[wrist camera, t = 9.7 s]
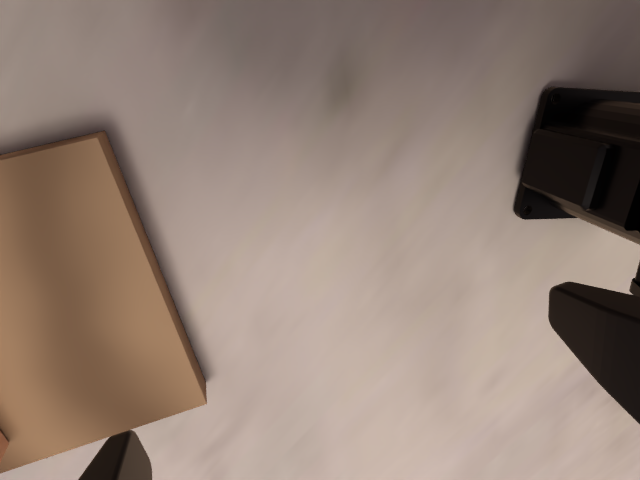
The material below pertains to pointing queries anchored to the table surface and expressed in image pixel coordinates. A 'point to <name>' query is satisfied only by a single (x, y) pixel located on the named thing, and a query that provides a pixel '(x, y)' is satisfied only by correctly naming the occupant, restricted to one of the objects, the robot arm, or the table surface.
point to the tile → (3, 445)
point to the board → (82, 307)
